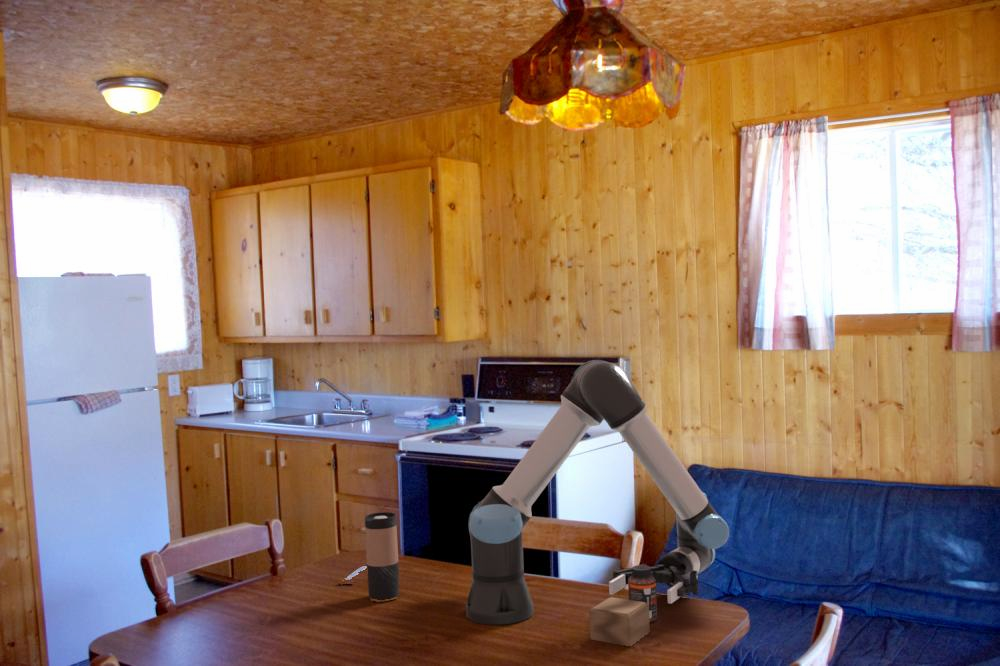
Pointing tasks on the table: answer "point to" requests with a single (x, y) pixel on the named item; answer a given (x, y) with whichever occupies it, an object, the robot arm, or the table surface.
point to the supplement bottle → (643, 588)
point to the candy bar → (355, 573)
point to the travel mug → (382, 555)
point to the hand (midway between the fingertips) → (639, 592)
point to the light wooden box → (619, 621)
